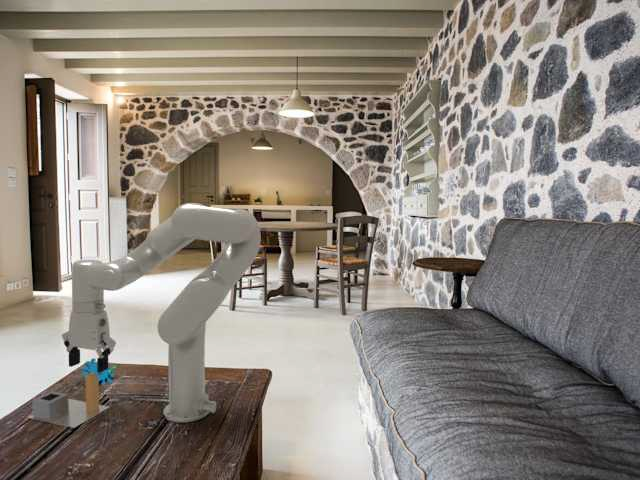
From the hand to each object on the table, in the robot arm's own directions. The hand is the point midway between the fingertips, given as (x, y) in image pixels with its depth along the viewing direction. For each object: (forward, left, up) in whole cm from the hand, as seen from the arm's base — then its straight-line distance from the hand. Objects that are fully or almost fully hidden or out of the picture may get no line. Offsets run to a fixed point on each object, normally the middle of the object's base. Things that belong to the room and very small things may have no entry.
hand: (88, 367), depth 121 cm
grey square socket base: (+4, +3, -13) cm, 14 cm away
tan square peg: (-1, 0, -12) cm, 12 cm away
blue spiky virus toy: (+13, -16, -13) cm, 24 cm away
